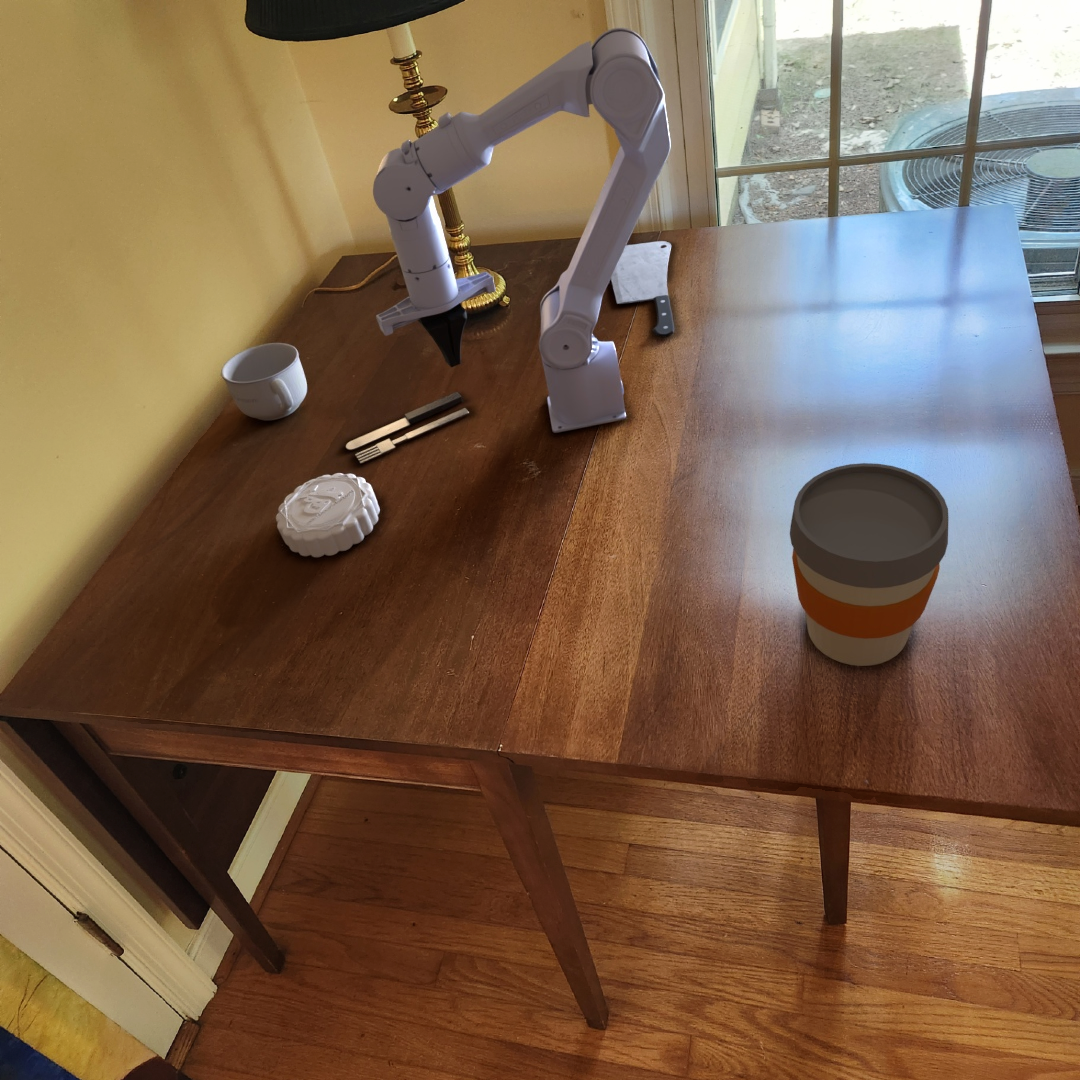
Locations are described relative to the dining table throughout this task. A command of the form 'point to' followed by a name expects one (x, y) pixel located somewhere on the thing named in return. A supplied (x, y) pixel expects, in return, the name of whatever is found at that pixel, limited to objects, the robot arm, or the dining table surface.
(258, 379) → the teacup
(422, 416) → the knife
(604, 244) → the robot arm
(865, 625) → the reusable coffee cup
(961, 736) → the dining table surface
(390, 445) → the fork
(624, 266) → the cleaver
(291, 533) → the mooncake
